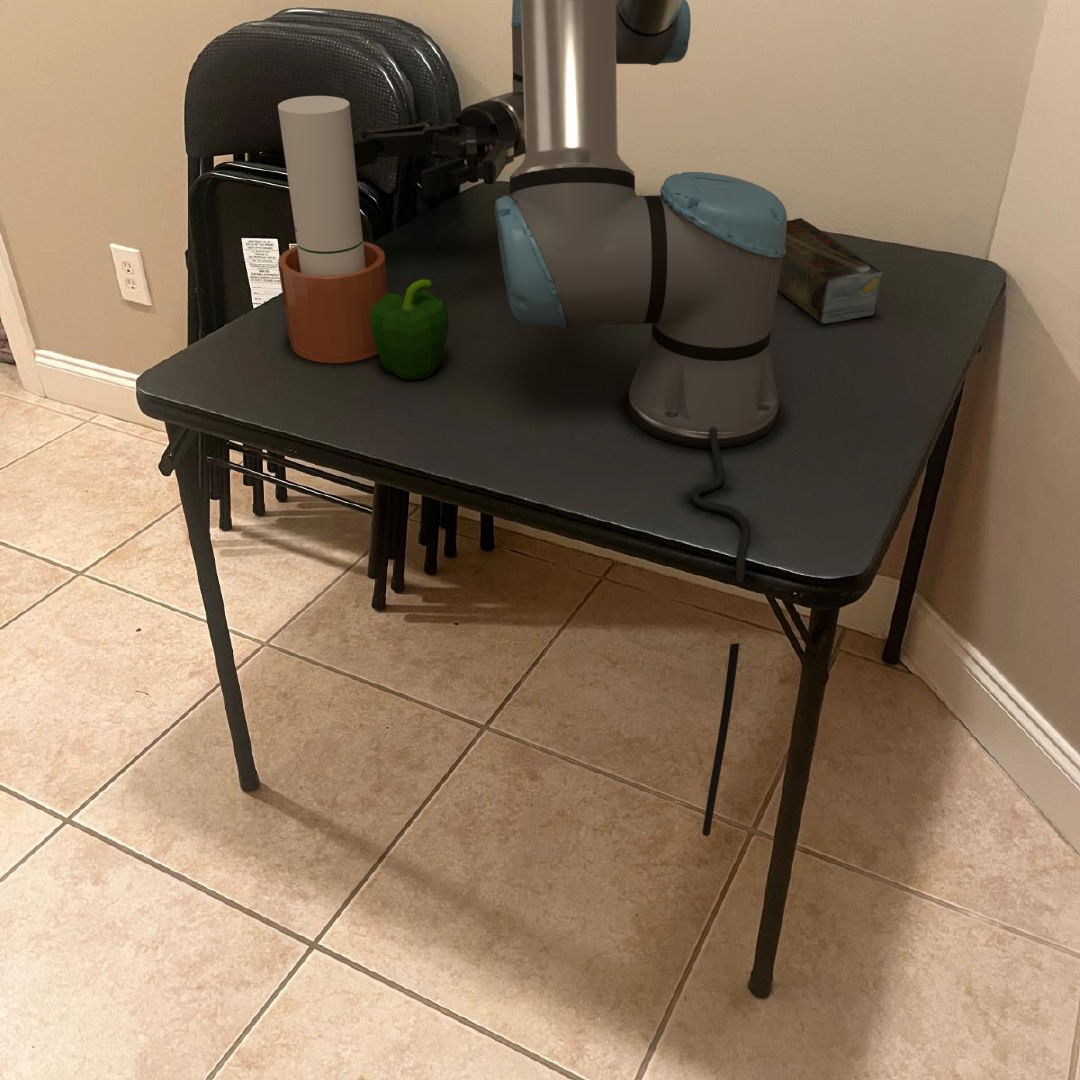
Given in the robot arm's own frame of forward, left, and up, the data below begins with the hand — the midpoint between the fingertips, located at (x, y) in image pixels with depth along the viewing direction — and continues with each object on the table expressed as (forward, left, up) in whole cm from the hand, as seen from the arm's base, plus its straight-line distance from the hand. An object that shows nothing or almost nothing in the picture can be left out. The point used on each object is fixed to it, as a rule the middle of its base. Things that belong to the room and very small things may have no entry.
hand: (377, 172), depth 114 cm
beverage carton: (0, -53, -18) cm, 56 cm away
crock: (-6, +6, -17) cm, 19 cm away
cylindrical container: (-6, +6, -16) cm, 18 cm away
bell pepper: (-14, -2, -18) cm, 23 cm away
